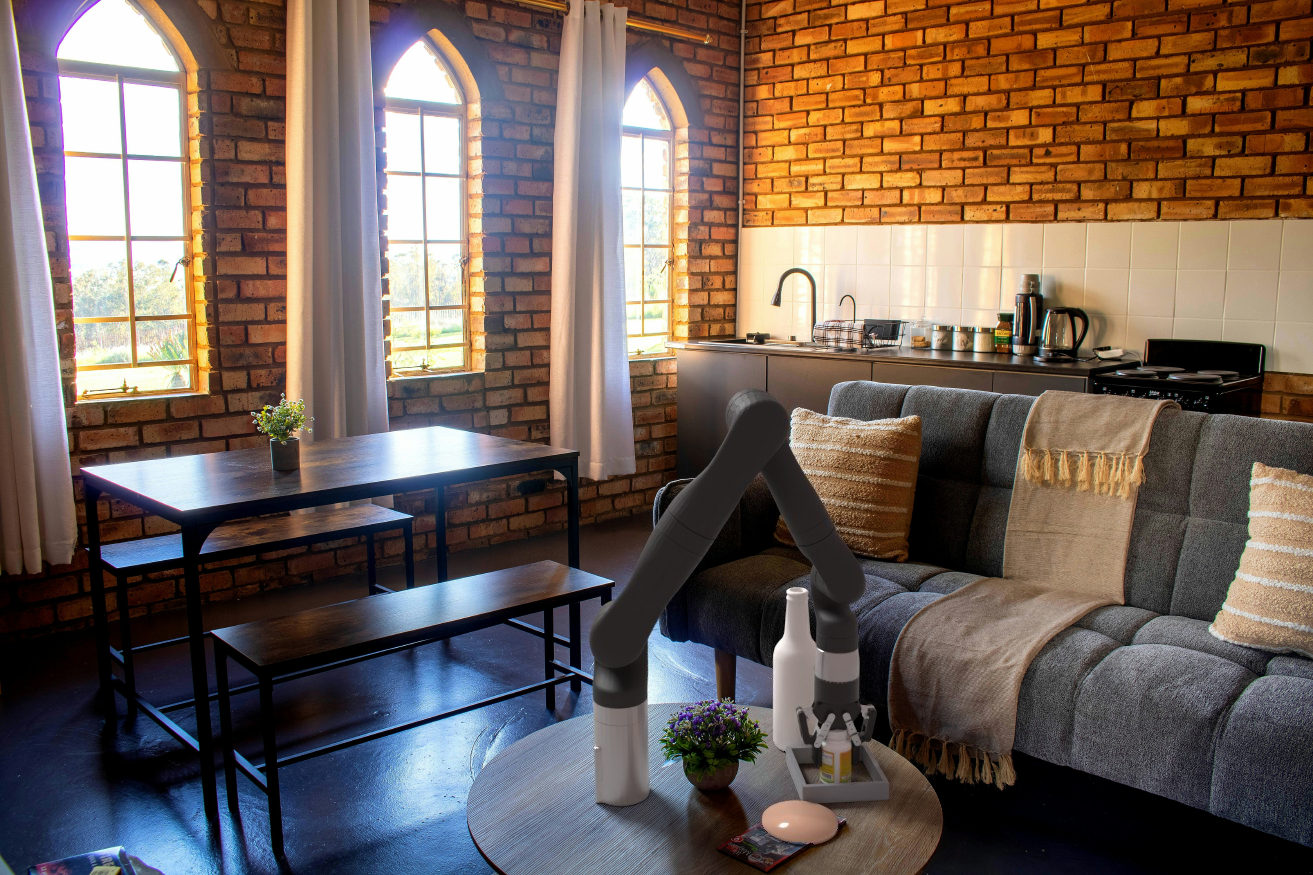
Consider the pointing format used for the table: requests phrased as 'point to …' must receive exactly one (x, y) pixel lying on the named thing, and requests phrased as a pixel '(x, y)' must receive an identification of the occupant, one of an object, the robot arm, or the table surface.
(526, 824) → the table surface
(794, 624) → the alcohol
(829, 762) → the supplement bottle
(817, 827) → the plate
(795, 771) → the bin
